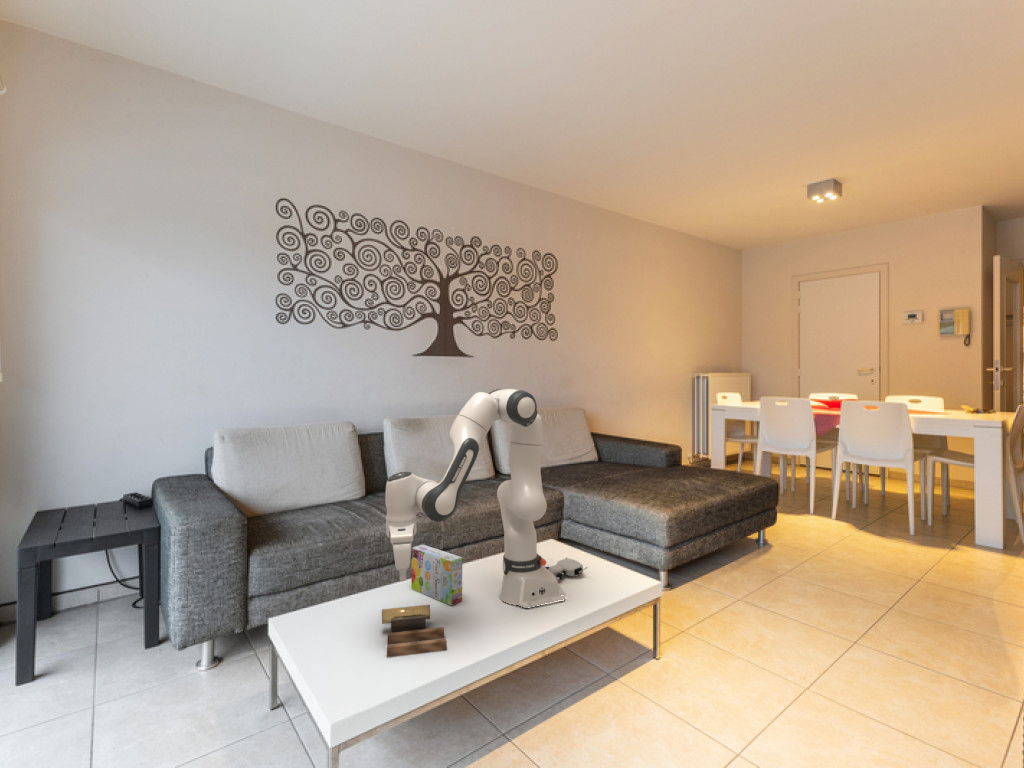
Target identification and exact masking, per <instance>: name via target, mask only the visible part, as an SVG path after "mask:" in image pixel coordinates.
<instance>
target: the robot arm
mask: <svg viewBox="0 0 1024 768" xmlns="http://www.w3.org/2000/svg"><path fill="white" fill-rule="evenodd" d="M497 420H498V421H500V422H505V423H509V425H510V428H511V433H510V439H509V440H510V441H509V451H508V461H507V465H508V466H507V467H508V469H509V473H510V479H507V480H504V481H503V482H501V483H500V485H499V486H498V488H497V492H496V497H497V500H498V503H499V507H500V515H501V520H502V521H501V522H502V526H503V534H504V538H503V539H504V540H503V542H504V546H503V547H504V549H503V550H504V553H503V556H502V572H503V579H502V583H501V585H502V586H501V589H500V593H499V599H500V598H501V599H500V600H501V601H502V602H503V601H504V603H505V602H506V604H507V603H509V604H508V605H511V604H513V605H512V606H516V605H519V606H521V607H520V608H522V607H524V608H528V607H533V606H537V605H541V604H545V603H550V602H554V601H558V600H563V599H565V596H566V593H565V590H564V589H563V588H562V587H561V586H560V585H559V582H558V581H559V580H557V579H556V577H555V575H554V574H553V573H552V572H550V571H549V570H548V569H546V568H545V567H546V565H547V561H546V560H545V558H543V557H542V556H541V555H539V554H538V551H537V550H538V549H537V546H538V543H537V542H538V541H537V539H538V538H537V535H538V534H537V530H536V528H535V526H534V525H535V523H534V522H536V521H539V520H540V519H542V518H543V517H544V515H545V514H546V511H547V509H548V507H547V505H548V503H547V500H546V497H545V494H544V491H543V490H544V489H543V481H542V473H541V470H542V469H541V463H542V462H541V460H542V451H543V442H544V441H543V439H544V438H543V437H544V436H543V435H544V431H543V419H542V416H541V415H540V414H539V413H538V405H537V401H536V399H535V396H534V395H532V393H530V392H528V391H526V390H520V389H516V388H515V389H514V388H504V389H503V388H498V389H494V390H491V391H490V392H483V391H479V392H476V393H474V394H473V395H472V396H471V397H470V398H469V400H467V401H466V403H465V405H463V407H462V409H460V411H459V413H458V414H457V416H456V418H455V419H454V421H453V423H452V424H451V427H450V429H449V440H450V443H451V444H452V447H453V450H454V451H453V458H452V461H451V462H450V464H449V466H448V468H447V470H446V472H445V474H444V476H443V478H442V479H441V481H440V482H438V481H435V480H432V479H428V478H423V477H420V476H418V475H416V474H415V473H412V472H411V471H401V472H397V473H394V474H392V475H390V476H389V477H388V479H386V484H385V493H384V495H385V497H384V499H385V503H384V504H385V508H386V515H385V516H386V517H385V529H386V530H385V531H386V537H388V539H389V541H390V544H391V545H392V551H393V557H394V565H395V569H396V571H398V573H399V581H400V582H405V581H406V580H407V570H409V569H410V565H411V558H412V543H413V542H414V540H415V539H414V538H415V535H416V534H417V530H418V529H417V515H418V513H423V514H425V516H426V517H427V518H428V519H430V520H431V521H433V522H439V523H441V522H444V521H447V520H448V519H450V518H452V517H453V515H454V514H455V512H456V511H457V509H458V505H459V501H460V496H461V492H462V490H463V487H464V485H465V483H466V482H467V480H468V477H469V475H470V473H471V471H472V468H473V466H474V464H475V462H476V460H477V457H478V454H479V451H480V448H481V446H482V443H483V441H484V440H485V438H486V437H487V434H488V433H489V431H490V429H491V427H492V425H493V424H495V422H496V421H497ZM561 595H564V596H561ZM565 600H566V599H565ZM519 606H518V607H519ZM524 608H523V609H524Z"/></svg>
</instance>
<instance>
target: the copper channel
mask: <svg viewBox="0 0 1024 768" xmlns="http://www.w3.org/2000/svg"><path fill="white" fill-rule="evenodd" d="M386 636H387V637H386V638H387V640H386V642H387V645H386V658H392V657H401V656H407V655H410V656H411V655H416V654H426V653H434V652H442V651H447V646H448V645H447V643H448V641H447V638H446V637H445V627H444V626H442V627H430V628H426V629H422V630H413V631H403V632H394V633H391V632H387V634H386Z"/></svg>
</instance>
